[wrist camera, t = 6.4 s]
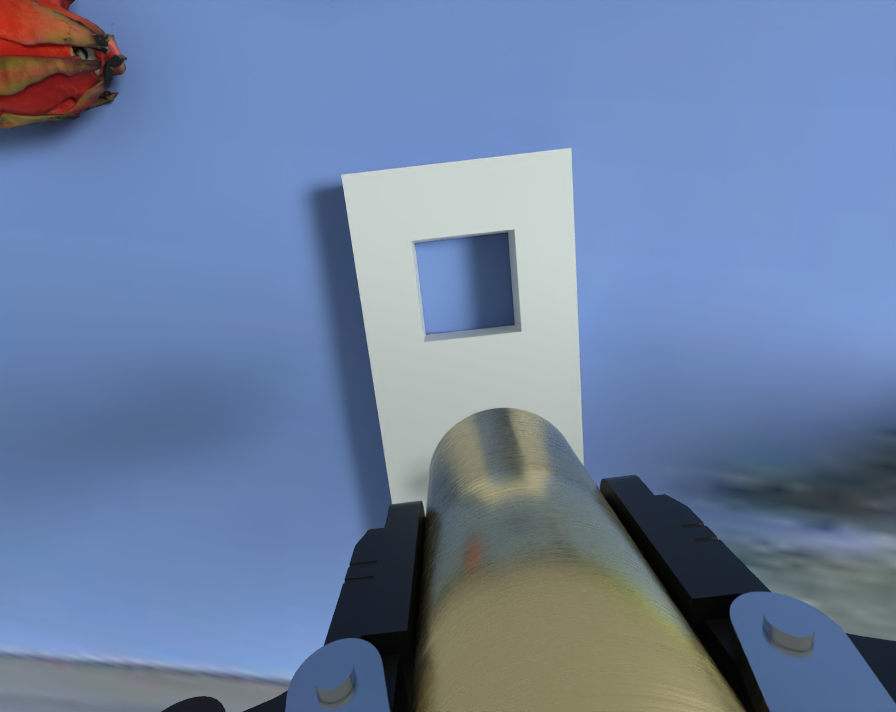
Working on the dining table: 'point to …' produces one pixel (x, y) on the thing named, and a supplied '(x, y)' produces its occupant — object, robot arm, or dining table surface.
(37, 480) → the dining table surface
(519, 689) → the cylinder
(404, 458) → the plate
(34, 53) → the dragon fruit
